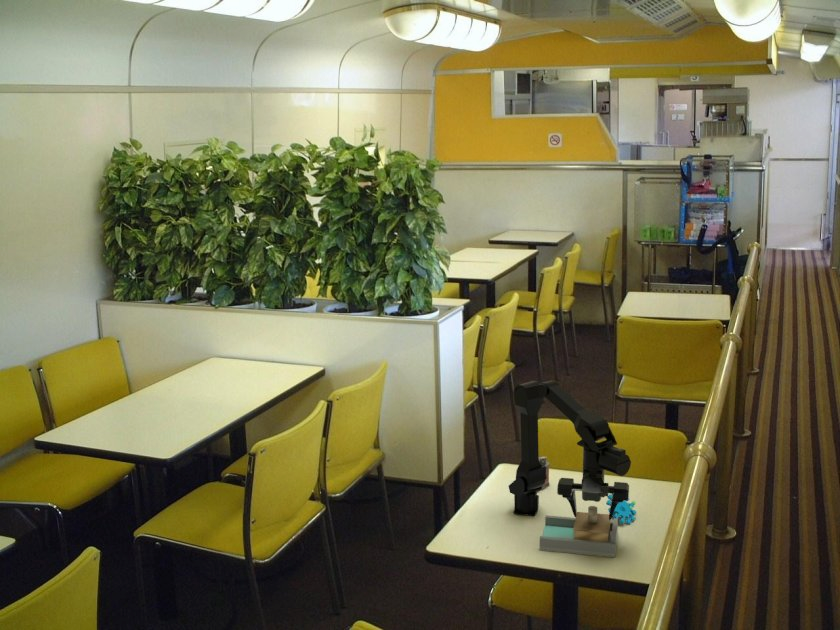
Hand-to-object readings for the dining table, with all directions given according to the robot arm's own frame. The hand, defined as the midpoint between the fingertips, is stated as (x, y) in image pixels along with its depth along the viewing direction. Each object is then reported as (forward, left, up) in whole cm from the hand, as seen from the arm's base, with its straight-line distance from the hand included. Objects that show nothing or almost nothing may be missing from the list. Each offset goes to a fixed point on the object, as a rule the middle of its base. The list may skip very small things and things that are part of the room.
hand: (592, 517), depth 248 cm
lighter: (-18, +33, -8) cm, 39 cm away
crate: (0, 0, -6) cm, 6 cm away
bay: (-3, 0, -7) cm, 8 cm away
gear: (+7, +16, -8) cm, 19 cm away
